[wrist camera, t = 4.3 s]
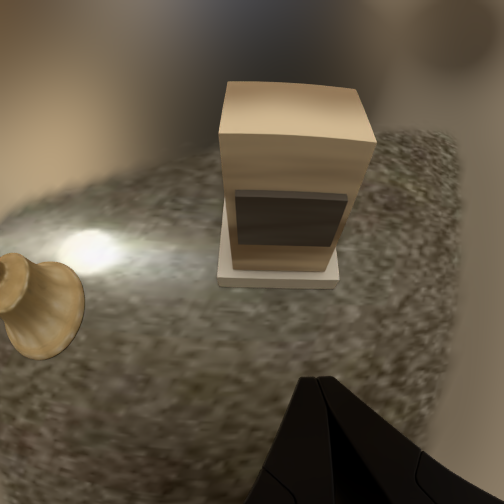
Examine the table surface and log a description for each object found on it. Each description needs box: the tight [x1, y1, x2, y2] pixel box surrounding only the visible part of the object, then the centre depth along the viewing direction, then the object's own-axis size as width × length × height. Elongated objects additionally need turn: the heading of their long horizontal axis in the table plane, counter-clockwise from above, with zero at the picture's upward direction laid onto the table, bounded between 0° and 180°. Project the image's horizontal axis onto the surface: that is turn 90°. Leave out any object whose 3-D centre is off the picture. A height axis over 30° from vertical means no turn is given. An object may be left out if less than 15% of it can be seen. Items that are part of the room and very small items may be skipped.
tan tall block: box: [219, 82, 377, 272], centre depth 17 cm, size 4×6×11 cm
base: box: [217, 199, 339, 289], centre depth 22 cm, size 10×8×6 cm
